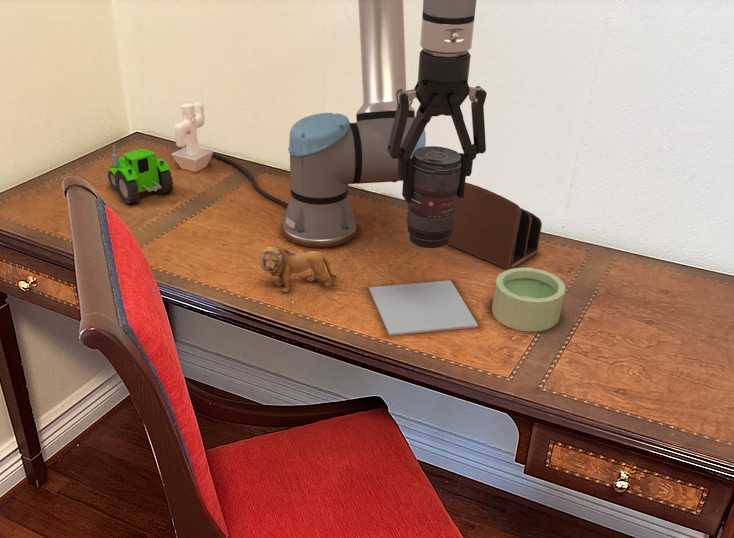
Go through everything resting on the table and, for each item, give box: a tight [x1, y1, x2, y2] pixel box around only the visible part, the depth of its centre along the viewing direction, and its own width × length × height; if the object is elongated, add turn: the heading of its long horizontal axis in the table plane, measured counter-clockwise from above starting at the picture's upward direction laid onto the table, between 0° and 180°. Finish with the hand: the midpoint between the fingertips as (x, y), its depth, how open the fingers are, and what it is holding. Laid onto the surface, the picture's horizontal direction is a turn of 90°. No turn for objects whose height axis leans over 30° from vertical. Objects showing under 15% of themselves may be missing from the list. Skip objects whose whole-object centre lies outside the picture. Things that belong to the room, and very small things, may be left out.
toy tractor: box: [107, 143, 174, 205], centre depth 178 cm, size 11×16×10 cm
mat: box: [368, 279, 479, 337], centre depth 144 cm, size 16×16×1 cm
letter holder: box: [446, 181, 543, 271], centre depth 160 cm, size 10×20×14 cm, turn 47°
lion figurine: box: [259, 245, 337, 293], centre depth 147 cm, size 15×5×9 cm, turn 114°
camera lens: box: [406, 145, 461, 249], centre depth 131 cm, size 8×8×15 cm
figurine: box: [170, 101, 215, 173], centre depth 188 cm, size 7×9×15 cm
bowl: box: [491, 267, 567, 332], centre depth 142 cm, size 12×12×6 cm
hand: (432, 196), depth 131 cm, fingers closed on camera lens, 8 cm apart
